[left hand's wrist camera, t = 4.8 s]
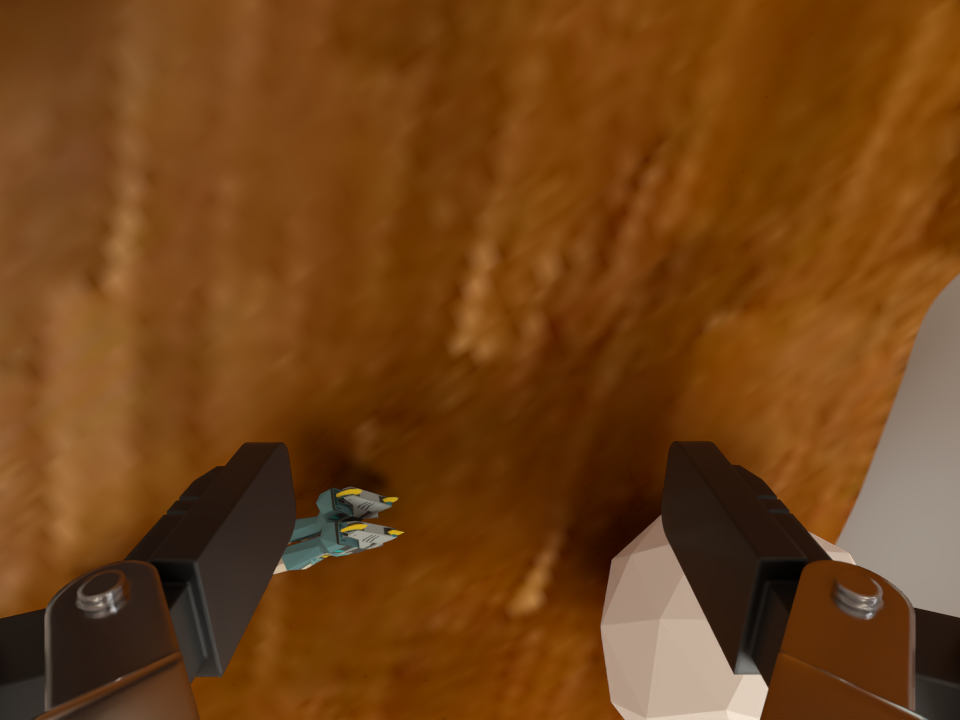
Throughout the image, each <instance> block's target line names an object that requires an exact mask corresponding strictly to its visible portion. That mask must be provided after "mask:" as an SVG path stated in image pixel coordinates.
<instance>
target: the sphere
mask: <svg viewBox="0 0 960 720" xmlns="http://www.w3.org/2000/svg"><path fill="white" fill-rule="evenodd" d="M809 533H810V532H809ZM810 535H811V536H812V537H813V538H814V539H815V540H816V541H817V542H818V544H819V545H820V546H821V547H822V548H823V549H824V550H825V552H826V553H827V554H828V555H829V556H830V557H831V558H832V560H835V561H842V562H846V563H850V564H854V565H856V564H855V562H854V560H853V559H852V557H851V555H850V554H849V553H848V552H846V551H844V550H842V549H840V548H839V547H837V546H835V545H833V544H831V543H829V542H827V541H825V540H823V539H821V538H820V537H818V536H816V535H814V534H812V533H810ZM601 637H602V643H603V650H604V657H605V664H606V670H607V677H608V684H609V691H610V697H611V702H612V704H613V705H614V706H615V707H616V709H617V710H618V711H619V713H620V714H621V715H622V717H623V718H624V719H625V720H760V717H761V714H762V710H763V706H764V703H765V699H766V696H767V692H768V687H767V685H766V683H765V681H764V680H763V678H762V676H761V675H734V674H733V672H732V670H731V668H730V666H729V664H728V662H727V660H726V658H725V656H724V653H723V651H722V649H721V647H720V645H719V643H718V641H717V639H716V637H715V635H714V633H713V631H712V629H711V627H710V625H709V623H708V621H707V619H706V617H705V615H704V613H703V611H702V609H701V607H700V605H699V603H698V601H697V599H696V597H695V595H694V593H693V591H692V589H691V586H690V584H689V582H688V580H687V578H686V576H685V574H684V572H683V570H682V568H681V566H680V564H679V562H678V560H677V558H676V556H675V554H674V552H673V550H672V548H671V546H670V544H669V542H668V540H667V538H666V535H665V533H664V529H663V525H662V518H661V515H660V516H659V517H658V518H657V519H656V520H655V521H654V522H653V523H651V524H650V525H649V526H648V527H647V528H646V529H645V530H644V531H643V532H642V533H641V534H639V535H638V536H637V537H636V538H635V539H634V540H633V541H632V542H631V543H630V544H629V545H627V546H626V547H625V548H624V549H623V550H622V551H621V552H620V553H619V554H618V555H617V556H615V557H614V558H613V559H612V562H611V568H610V574H609V580H608V585H607V591H606V597H605V603H604V609H603V615H602V621H601Z"/></svg>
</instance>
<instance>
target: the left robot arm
mask: <svg viewBox="0 0 960 720" xmlns="http://www.w3.org/2000/svg"><path fill="white" fill-rule="evenodd" d="M179 498H180V499H179V501H176V502H175V503H174V504H173V505H172V506H171V508H170V509H169V510H168V511H167V515H163V517H162V518H161V519H160V520H159V521H158V522H157V523H156V524H155V526H154V527H153V528H152V529H151V530H150V531H149V532H148V533H147V535H146V536H145V537H144V538H143V539H142V540H141V541H140V542H139V544H138V545H137V546H136V547H135V548H134V549H133V550H132V551H131V553H130V554H129V555H128V556H127V557H126V558H125V559H124V560H123V561H118V562H114V563H110V564H106V565H103V566H100V567H98V568H95V569H93V570H90V571H88V572H86V573H84V574H82V575H81V576H79V577H77V578H76V579H74V580H72V581H71V582H70V583H68V584H67V585H65V586H64V587H63V588H62V589H61V590H60V591H58V593H57V594H56V595H55V596H54V597H53V598H52V599H51V601H50V602H49V604H48V606H47V608H45V609H41V610H37V611H32V612H28V613H23V614H19V615H14V616H10V617H6V618H1V619H0V720H200V717H199V714H198V710H197V706H196V703H195V699H194V696H193V692H192V689H191V683H192V681H193V679H194V677H222V676H223V674H224V672H225V670H226V668H227V666H228V664H229V662H230V660H231V658H232V656H233V654H234V652H235V650H236V647H237V645H238V643H239V641H240V639H241V637H242V635H243V633H244V631H245V629H246V627H247V625H248V623H249V621H250V619H251V617H252V615H253V613H254V611H255V609H256V607H257V605H258V603H259V601H260V599H261V597H262V595H263V593H264V591H265V589H266V587H267V585H268V583H269V581H270V579H271V577H272V575H273V573H274V571H275V569H276V567H277V565H278V563H279V561H280V559H281V557H282V555H283V553H284V551H285V549H286V547H287V545H288V543H289V541H290V539H291V537H292V534H293V531H294V527H295V521H296V503H295V496H294V489H293V482H292V475H291V468H290V461H289V454H288V450H287V447H286V445H285V444H284V443H282V442H247V443H244V444H243V445H242V446H241V447H240V449H239V450H238V451H237V452H236V453H235V455H234V456H233V457H232V458H231V459H230V461H229V462H228V463H227V464H226V465H225V466H217V467H215V468H214V469H212V470H211V471H209V472H207V473H206V474H204V475H203V476H201V477H199V478H198V479H196V480H195V481H194V482H193V483H192V484H191V485H190V486H189V487H188V488H187V489H186V491H185V492H184V493H183V494H182V495H181V496H180V497H179ZM661 518H662V525H663V529H664V533H665V535H666V538H667V540H668V542H669V544H670V546H671V548H672V550H673V552H674V554H675V556H676V558H677V560H678V562H679V564H680V566H681V568H682V570H683V572H684V574H685V576H686V578H687V580H688V582H689V584H690V586H691V589H692V591H693V593H694V595H695V597H696V599H697V601H698V603H699V605H700V607H701V609H702V611H703V613H704V615H705V617H706V619H707V621H708V623H709V625H710V627H711V629H712V631H713V633H714V635H715V637H716V639H717V641H718V643H719V645H720V647H721V649H722V651H723V653H724V656H725V658H726V660H727V662H728V664H729V666H730V668H731V670H732V672H733V674H734V675H761V676H762V678H763V680H764V681H765V683H766V685H767V687H768V692H767V696H766V699H765V703H764V706H763V710H762V714H761V717H760V720H960V618H958V617H954V616H949V615H945V614H940V613H936V612H931V611H927V610H922V609H918V608H914V607H913V606H912V604H911V602H910V601H909V599H908V598H907V597H906V596H905V595H904V594H903V593H902V591H900V590H899V589H898V588H897V587H896V586H895V585H893V584H892V583H890V582H889V581H888V580H886V579H884V578H883V577H881V576H879V575H878V574H876V573H874V572H872V571H870V570H867V569H865V568H862V567H860V566H857V565H854V564H850V563H846V562H842V561H835V560H832V558H831V557H830V556H829V555H828V554H827V553H826V552H825V550H824V549H823V548H822V547H821V546H820V545H819V544H818V542H817V541H816V540H815V539H814V538H813V537H812V536H811V535H810V533H809V532H808V531H807V530H806V529H805V528H804V527H803V525H802V524H801V523H800V522H799V521H798V520H797V519H796V517H795V516H794V515H793V514H789V510H788V508H787V507H786V506H785V505H784V504H783V503H782V502H781V500H777V496H776V495H775V494H774V492H773V491H772V490H771V489H770V488H769V487H768V486H767V485H766V483H765V482H764V481H763V480H762V479H760V478H759V477H757V476H756V475H754V474H752V473H751V472H749V471H748V470H746V469H744V468H743V467H741V466H740V465H731V464H730V463H729V461H728V460H727V459H726V458H725V456H724V455H723V454H722V453H721V452H720V450H719V449H718V448H717V447H716V446H715V444H714V443H712V442H709V441H675V442H673V443H672V444H671V446H670V449H669V454H668V461H667V468H666V475H665V482H664V489H663V497H662V504H661Z"/></svg>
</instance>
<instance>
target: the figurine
mask: <svg viewBox="0 0 960 720" xmlns="http://www.w3.org/2000/svg"><path fill="white" fill-rule="evenodd" d="M397 499H398V498H396V497H384V496H381V495H378V494H375V493H371V492H368V491H365V490H361V489H358V488H355V487H352V486H351V487H348V488H344V489H342V490H339V489H335V488H331V489H329V490H327V491H325V492H323V493H322V494H320V496H319V498H318V500H317V503H316V504H317V506H318V508H319V510H320V512H319V514H318V516H317V517H311V518H304V519H297V520H296V521H295V527H294V531H293V534H292V537H291V539H290V541H289V543H288V544H290V543H292V542H296V541H304V540H307V539H310V538H313V537H317V536H320V535H321V536H320V537H317V538H314V539H311V540H308V541H304V542H301V543H298V544H295V545H292V546H289V547H286V549H285V551H284V553H283V555H282V557H281V559H280V561H279V563H278V565H277V567H276V569H275V571H274V573H273V574H276V573H280V572H283V571H287V570H297V569H306V568H308V567H310V566H312V565H313V564H315V563H317V562H319V561H320V560H322V559H324V558H326V557H328V556H329V555H333V556H342V555H348V554H353V553H359V552H362V551H364V550H367V549H370V548H374V547H379V546H383V543H384V542H387V541H389V540H392V539H394V538H397V535H399V534H401V533H404V532H402V531H399V530H396V529H395V528H391V527H386V526H380V525H375V524H370V523H365V522H360V521H362V520H363V519H368V518H378V512H380V511H383V510H385V509H387V508H390V507H392V506H391V503H393V502H395V501H396V500H397Z"/></svg>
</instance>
